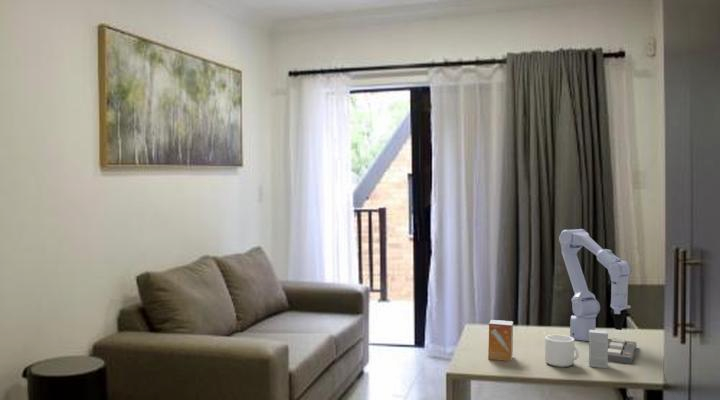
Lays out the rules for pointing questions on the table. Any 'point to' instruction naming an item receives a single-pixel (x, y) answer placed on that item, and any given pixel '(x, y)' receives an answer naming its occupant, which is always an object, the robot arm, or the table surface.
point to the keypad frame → (623, 353)
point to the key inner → (618, 340)
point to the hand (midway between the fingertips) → (618, 329)
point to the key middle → (616, 345)
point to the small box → (500, 340)
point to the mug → (560, 350)
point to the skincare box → (598, 348)
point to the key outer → (614, 351)
